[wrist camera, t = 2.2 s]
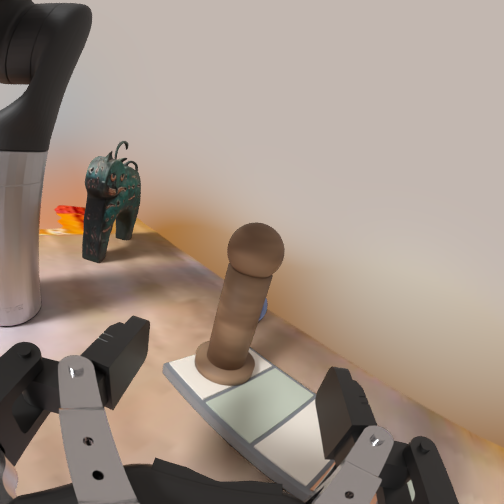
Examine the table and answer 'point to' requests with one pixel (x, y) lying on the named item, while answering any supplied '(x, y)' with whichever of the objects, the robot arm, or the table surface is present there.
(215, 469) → the table surface
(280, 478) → the game board
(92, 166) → the ceramic cat
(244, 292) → the pawn
